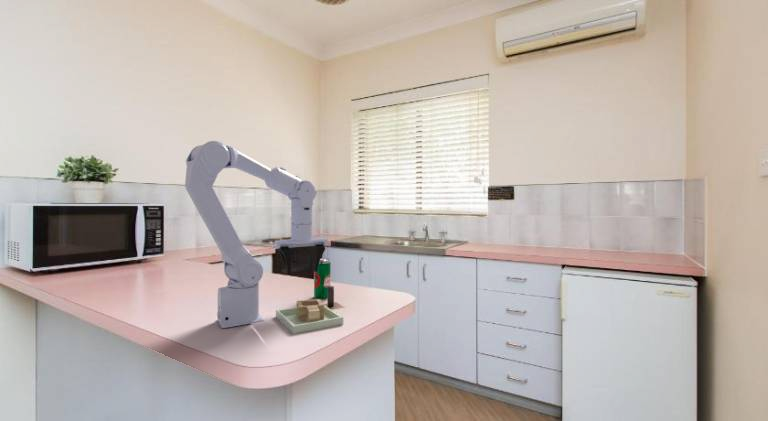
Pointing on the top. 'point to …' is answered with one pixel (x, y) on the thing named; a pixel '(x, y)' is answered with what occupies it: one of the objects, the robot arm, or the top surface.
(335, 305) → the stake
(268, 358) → the top surface
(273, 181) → the robot arm
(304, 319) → the tan frame with handle
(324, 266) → the soda can
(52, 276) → the top surface
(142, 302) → the top surface
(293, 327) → the tray
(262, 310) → the top surface
